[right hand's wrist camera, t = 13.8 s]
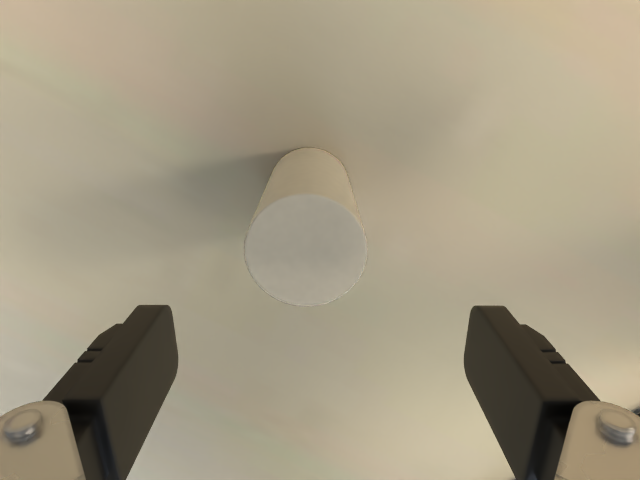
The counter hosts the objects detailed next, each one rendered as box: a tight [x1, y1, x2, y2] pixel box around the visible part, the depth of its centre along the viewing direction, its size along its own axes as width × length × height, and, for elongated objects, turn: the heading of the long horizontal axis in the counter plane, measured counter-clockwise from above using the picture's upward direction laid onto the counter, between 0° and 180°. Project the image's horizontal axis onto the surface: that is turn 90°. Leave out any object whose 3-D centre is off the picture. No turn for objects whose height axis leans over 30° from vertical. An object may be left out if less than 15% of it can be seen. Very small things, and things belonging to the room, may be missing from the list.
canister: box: [244, 148, 368, 306], centre depth 21 cm, size 5×5×10 cm
